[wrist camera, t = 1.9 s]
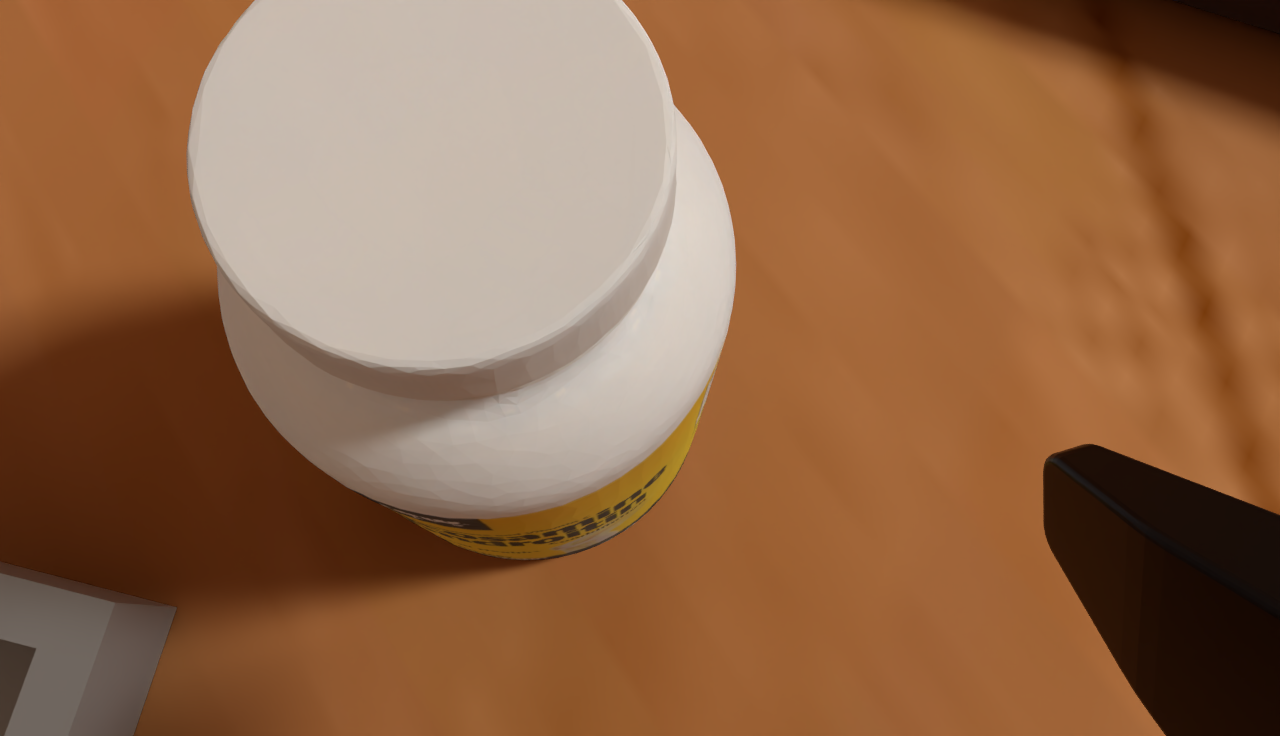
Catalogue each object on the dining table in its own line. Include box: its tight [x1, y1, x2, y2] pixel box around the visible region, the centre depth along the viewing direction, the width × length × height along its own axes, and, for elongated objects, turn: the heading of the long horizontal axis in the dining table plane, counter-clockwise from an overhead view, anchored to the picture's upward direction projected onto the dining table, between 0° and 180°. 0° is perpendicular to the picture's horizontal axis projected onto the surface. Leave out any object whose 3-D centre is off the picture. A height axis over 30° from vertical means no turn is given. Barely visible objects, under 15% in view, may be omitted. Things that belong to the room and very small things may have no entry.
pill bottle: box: [187, 0, 736, 560], centre depth 16 cm, size 6×6×12 cm
